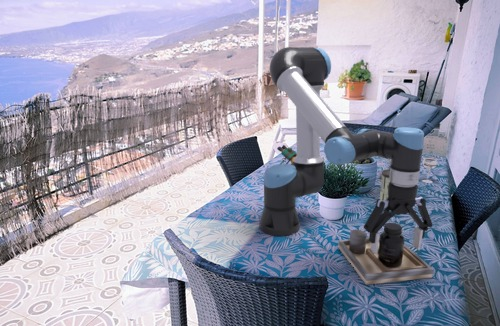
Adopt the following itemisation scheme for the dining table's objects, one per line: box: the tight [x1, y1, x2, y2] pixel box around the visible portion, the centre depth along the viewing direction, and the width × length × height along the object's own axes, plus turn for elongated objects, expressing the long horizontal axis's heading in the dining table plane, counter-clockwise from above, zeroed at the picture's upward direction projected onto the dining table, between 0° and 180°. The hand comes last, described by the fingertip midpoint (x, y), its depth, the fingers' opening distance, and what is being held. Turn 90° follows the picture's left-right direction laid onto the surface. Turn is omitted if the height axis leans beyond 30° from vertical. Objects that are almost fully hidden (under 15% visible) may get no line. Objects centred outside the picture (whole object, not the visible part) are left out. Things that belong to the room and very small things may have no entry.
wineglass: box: [421, 156, 439, 184], centre depth 170 cm, size 7×7×12 cm
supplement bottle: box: [378, 222, 405, 268], centre depth 99 cm, size 7×7×12 cm
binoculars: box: [276, 144, 297, 165], centre depth 192 cm, size 14×14×15 cm
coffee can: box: [379, 168, 390, 207], centre depth 144 cm, size 10×10×14 cm
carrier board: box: [337, 229, 435, 285], centre depth 103 cm, size 20×20×7 cm
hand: (395, 249), depth 100 cm, fingers open, 13 cm apart
